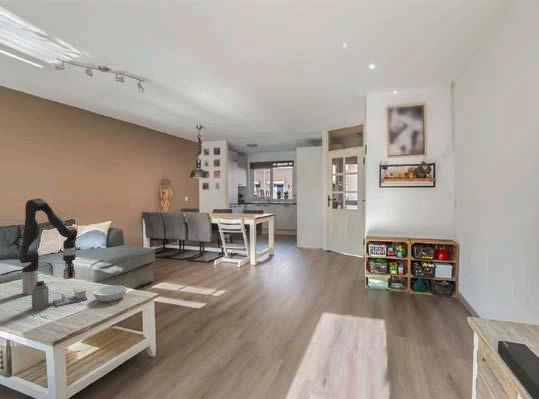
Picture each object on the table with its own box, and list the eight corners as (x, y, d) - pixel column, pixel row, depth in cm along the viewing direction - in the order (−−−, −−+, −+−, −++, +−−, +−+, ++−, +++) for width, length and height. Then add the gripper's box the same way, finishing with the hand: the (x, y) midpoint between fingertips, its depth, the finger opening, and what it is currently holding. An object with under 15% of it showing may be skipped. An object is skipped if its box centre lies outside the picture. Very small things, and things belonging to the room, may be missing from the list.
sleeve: (63, 277, 206) (63, 269, 206) (73, 275, 210) (73, 268, 210) (65, 279, 202) (65, 271, 202) (75, 277, 206) (75, 269, 206)
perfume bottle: (36, 307, 188) (36, 280, 187) (48, 305, 190) (48, 279, 190) (32, 311, 182) (31, 283, 181) (44, 309, 184) (44, 282, 183)
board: (53, 302, 196) (52, 293, 196) (82, 295, 209) (82, 287, 209) (56, 307, 188) (56, 298, 188) (87, 299, 201) (87, 291, 201)
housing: (74, 296, 204) (74, 289, 204) (83, 294, 208) (82, 287, 208) (77, 299, 198) (77, 292, 198) (86, 297, 202) (86, 290, 202)
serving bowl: (112, 306, 191) (112, 296, 190) (86, 303, 195) (86, 293, 195) (132, 295, 211) (132, 286, 211) (109, 293, 215) (109, 284, 215)
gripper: (60, 253, 208) (60, 275, 208) (65, 256, 198) (65, 279, 199) (72, 251, 213) (72, 273, 214) (77, 254, 204) (78, 277, 204)
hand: (69, 276), depth 206 cm, fingers closed on sleeve, 6 cm apart
